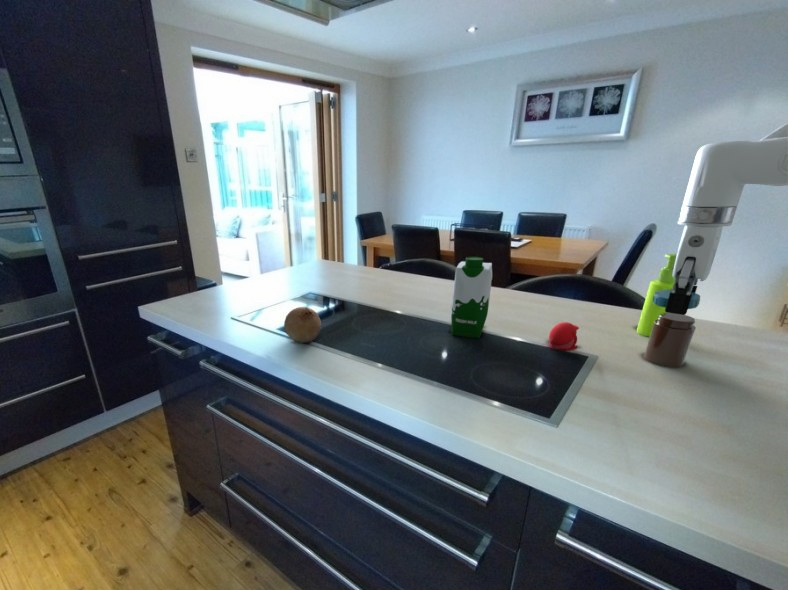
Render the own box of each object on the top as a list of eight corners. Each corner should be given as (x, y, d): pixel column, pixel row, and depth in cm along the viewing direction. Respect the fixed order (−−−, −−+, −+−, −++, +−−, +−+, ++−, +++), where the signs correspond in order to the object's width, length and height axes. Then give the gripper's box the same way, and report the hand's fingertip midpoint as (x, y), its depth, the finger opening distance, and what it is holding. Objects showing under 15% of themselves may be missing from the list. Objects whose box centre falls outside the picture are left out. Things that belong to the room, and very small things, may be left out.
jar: (671, 358, 86) (686, 312, 82) (688, 371, 80) (706, 323, 76) (637, 355, 87) (650, 311, 83) (651, 369, 81) (666, 321, 77)
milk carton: (447, 336, 101) (454, 259, 93) (453, 324, 109) (459, 252, 101) (483, 340, 97) (492, 261, 90) (486, 328, 105) (496, 254, 97)
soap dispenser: (675, 338, 95) (702, 256, 88) (644, 337, 96) (668, 256, 89) (661, 329, 101) (685, 252, 93) (631, 328, 102) (653, 252, 94)
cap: (571, 356, 88) (577, 332, 85) (543, 350, 91) (547, 326, 89) (580, 345, 93) (585, 322, 91) (553, 339, 97) (557, 316, 95)
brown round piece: (314, 354, 100) (322, 327, 93) (278, 346, 99) (284, 318, 92) (319, 329, 107) (326, 302, 100) (285, 321, 106) (290, 293, 99)
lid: (659, 296, 83) (661, 287, 82) (702, 302, 78) (704, 293, 77) (647, 305, 79) (649, 296, 78) (691, 311, 74) (694, 302, 73)
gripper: (730, 222, 63) (697, 324, 70) (737, 212, 75) (708, 301, 81) (671, 220, 69) (646, 315, 75) (686, 211, 80) (662, 295, 86)
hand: (678, 307), depth 78 cm, fingers closed on lid, 7 cm apart
